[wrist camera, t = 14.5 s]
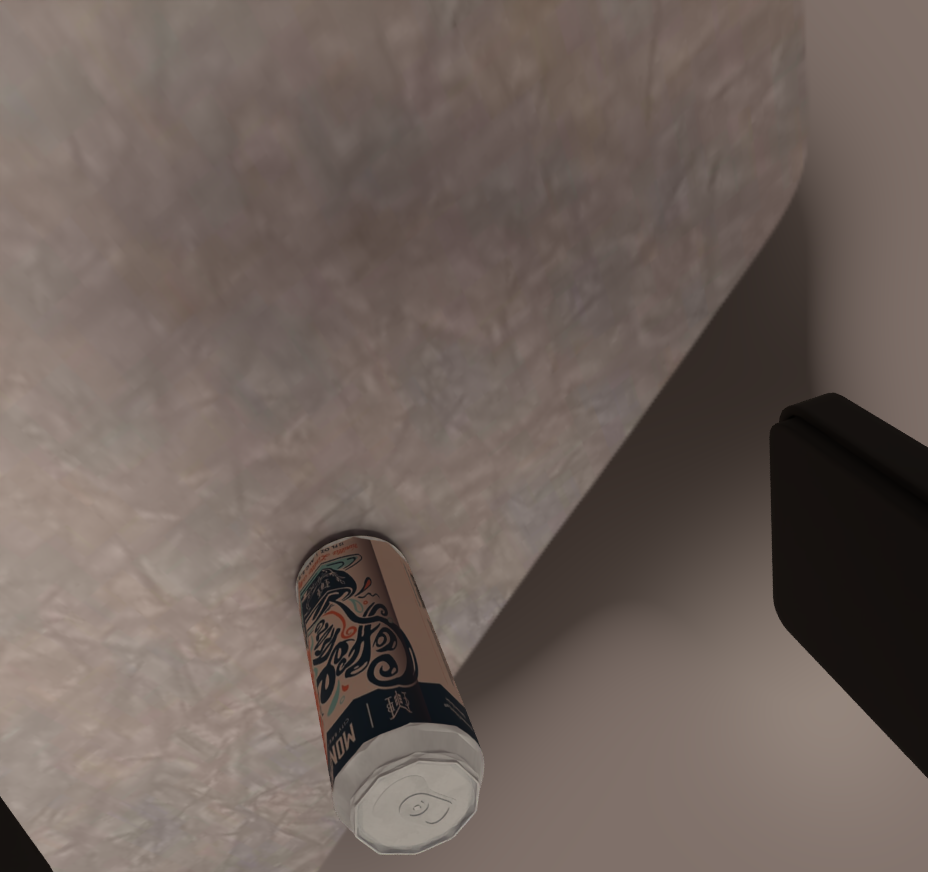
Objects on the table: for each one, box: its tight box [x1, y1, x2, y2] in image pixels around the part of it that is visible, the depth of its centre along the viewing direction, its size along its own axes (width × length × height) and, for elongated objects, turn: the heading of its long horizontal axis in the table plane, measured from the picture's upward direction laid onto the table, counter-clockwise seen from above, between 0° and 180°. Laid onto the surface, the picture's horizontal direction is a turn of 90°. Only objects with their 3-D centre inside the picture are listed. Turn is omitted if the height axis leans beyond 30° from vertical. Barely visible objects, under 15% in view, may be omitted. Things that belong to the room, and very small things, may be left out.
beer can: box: [295, 536, 484, 855], centre depth 31 cm, size 5×5×12 cm
